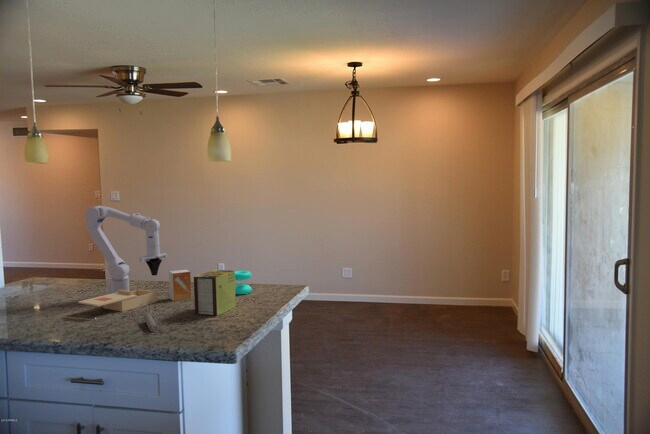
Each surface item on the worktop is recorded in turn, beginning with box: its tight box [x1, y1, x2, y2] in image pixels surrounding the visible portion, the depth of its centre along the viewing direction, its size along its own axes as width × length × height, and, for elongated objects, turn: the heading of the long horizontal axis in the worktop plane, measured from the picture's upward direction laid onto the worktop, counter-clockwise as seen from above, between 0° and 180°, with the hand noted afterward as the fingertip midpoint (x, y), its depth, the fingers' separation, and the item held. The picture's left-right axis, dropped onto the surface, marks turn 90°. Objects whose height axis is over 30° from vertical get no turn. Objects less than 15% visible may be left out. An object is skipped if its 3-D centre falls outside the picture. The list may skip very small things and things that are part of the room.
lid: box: [77, 290, 137, 307], centre depth 208 cm, size 12×18×2 cm
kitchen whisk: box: [134, 299, 158, 334], centre depth 192 cm, size 6×34×6 cm, turn 28°
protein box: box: [193, 269, 237, 317], centre depth 208 cm, size 10×15×16 cm
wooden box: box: [102, 289, 158, 312], centre depth 217 cm, size 12×18×5 cm, turn 150°
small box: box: [168, 269, 192, 302], centre depth 227 cm, size 8×6×13 cm
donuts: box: [234, 270, 253, 296], centre depth 239 cm, size 10×10×10 cm
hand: (154, 275), depth 232 cm, fingers closed
